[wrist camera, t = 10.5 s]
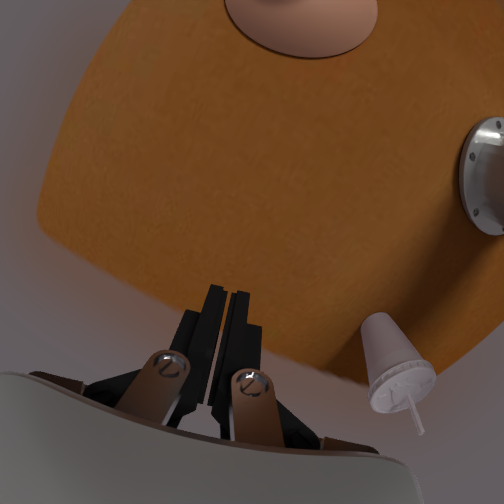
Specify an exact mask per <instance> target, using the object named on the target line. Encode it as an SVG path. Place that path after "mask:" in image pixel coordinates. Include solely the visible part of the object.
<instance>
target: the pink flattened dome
mask: <svg viewBox="0 0 504 504" xmlns="http://www.w3.org/2000/svg"><path fill="white" fill-rule="evenodd" d="M225 3H226V6H227V10H228V12H229V14H230V16H231V18H232V20H233V21H234V22H235V24H236V25H237V26H238V27H239V28H240V29H241V30H242V32H244V33H245V34H246V35H247V36H248V37H250V38H251V39H253V40H254V41H256V42H257V43H259V44H261V45H263V46H265V47H267V48H269V49H272V50H274V51H277V52H280V53H284V54H287V55H293V56H298V57H308V58H319V57H329V56H334V55H338V54H341V53H344V52H347V51H349V50H351V49H353V48H355V47H356V46H358V45H359V44H361V43H362V42H363V41H364V40H365V39H366V38H367V37H368V36H369V35H370V33H371V32H372V30H373V28H374V26H375V23H376V20H377V12H378V9H377V2H376V0H225Z"/></svg>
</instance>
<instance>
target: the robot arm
mask: <svg viewBox="0 0 504 504" xmlns="http://www.w3.org/2000/svg"><path fill="white" fill-rule="evenodd" d="M459 188H460V195H461V200H462V204H463V207H464V209H465V212H466V214H467V216H468V217H469V219H470V221H471V222H472V223H473V224H474V225H475V227H477V228H478V229H480V230H481V231H483V232H484V233H487V234H489V235H494V236H497V235H502V234H504V118H502V117H488V118H485V119H483V120H481V121H480V122H479V123H477V124H476V125H475V126H474V127H473V129H472V130H471V132H470V133H469V135H468V137H467V139H466V141H465V144H464V147H463V150H462V154H461V159H460V166H459ZM223 288H224V287H221V286H217V285H213V284H211V286H210V288H209V291H208V294H207V297H206V300H205V302H204V305H203V308H202V311H201V313H199V312H195V311H191V310H187V309H186V311H185V313H184V315H183V317H182V320H181V322H180V324H179V327H178V329H177V331H176V334H175V336H174V339H173V341H172V344H171V346H170V348H169V350H162V351H158V352H156V353H154V354H153V355H152V356H151V357H150V358H149V360H148V361H147V362H146V364H145V365H144V367H143V368H142V369H139V370H136V371H133V372H129V373H126V374H123V375H119V376H116V377H113V378H109V379H105V380H102V381H98V382H95V383H92V384H91V385H85V384H84V383H83V381H78V380H73V379H69V378H65V377H60V376H57V375H52V374H49V373H45V372H41V371H34V372H30V373H29V374H24V373H18V372H12V371H3V372H0V504H425V503H424V498H423V495H422V492H421V488H420V486H419V483H418V481H417V479H416V476H415V474H414V473H413V471H412V470H411V469H410V467H409V466H407V465H406V464H405V463H403V462H401V461H399V460H396V459H394V458H391V457H387V456H384V455H380V454H379V452H378V451H377V450H376V449H374V448H373V447H370V446H366V445H361V444H356V443H351V442H346V441H342V440H337V439H333V438H328V437H325V438H323V439H322V438H318V437H317V436H316V435H315V433H314V432H313V431H312V430H310V429H309V428H308V427H307V426H306V425H305V424H304V423H302V422H301V421H300V420H299V419H298V418H297V417H295V416H294V415H293V414H292V413H291V412H290V411H289V410H287V408H285V407H284V406H283V405H282V404H281V403H280V402H279V401H278V400H277V399H276V397H275V391H274V386H273V383H272V381H271V379H270V378H269V377H268V376H267V375H266V374H265V373H263V372H261V371H260V358H261V339H262V327H261V326H257V325H252V324H247V316H248V307H249V299H250V293H248V292H243V291H239V290H238V291H237V293H232V294H231V298H230V303H229V307H228V312H227V316H226V321H225V325H224V330H223V334H222V339H221V343H220V348H219V352H218V357H217V361H216V366H215V371H214V376H213V380H212V385H211V390H210V395H209V399H208V404H207V405H208V406H212V411H211V414H212V416H213V417H214V418H215V419H216V421H217V422H218V438H214V437H209V436H205V435H200V434H195V433H191V432H187V431H183V430H179V429H180V427H181V425H182V422H183V420H184V417H185V415H186V414H189V413H191V412H193V411H195V410H196V407H197V403H200V404H203V401H204V396H205V392H206V388H207V383H208V379H209V374H210V370H211V366H212V361H213V357H214V353H215V349H216V344H217V339H218V335H219V330H220V326H221V321H222V316H223V312H224V307H225V302H226V298H227V293H228V291H224V290H223Z"/></svg>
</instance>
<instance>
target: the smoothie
mask: <svg viewBox="0 0 504 504" xmlns="http://www.w3.org/2000/svg"><path fill="white" fill-rule="evenodd" d="M360 330H361V336H362V342H363V347H364V353H365V359H366V365H367V372H368V379H369V386H370V389H369V391H368V400H369V402H370V405H371V408H372V409H373V410H374V411H376V412H378V413H385V414H387V413H395V412H399V411H402V410H405V409H407V408H409V409H410V412H411V415H412V417H413V420H414V423H415V426H416V429H417V432H418V435H422V434H424V433H425V431H424V428H423V425H422V423H421V420H420V417H419V415H418V412H417V409H416V407H415V404H416V403H418V402H420V401H421V400H422V399H423V398H424V397H425V396H426V395H427V394H428V393H429V392H430V391H431V390H432V388H433V386H434V384H435V382H436V373H435V371H434V370H433V366H432V365H431V363H429V362H428V361H426V360H424V359H423V358H422V357H421V355H420V354H419V353H418V351H417V350H416V349H415V348H414V346H413V345H412V344H411V342H410V341H409V340H408V338H407V337H406V336H405V335H404V333H403V332H402V331H401V329H400V328H399V327H398V326H397V324H396V323H395V322H394V321H393V319H392V318H391V317H390V316H389V315H388V314H386V313H383V312H379V313H375V314H372V315H370V316H369V317H367V318H366V319H365V320H364V322H363V323H362V325H361V329H360Z"/></svg>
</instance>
